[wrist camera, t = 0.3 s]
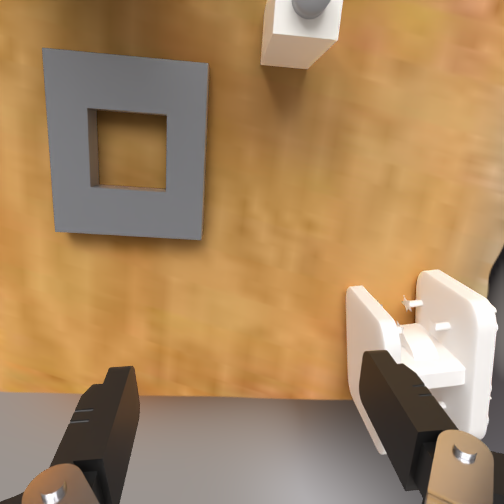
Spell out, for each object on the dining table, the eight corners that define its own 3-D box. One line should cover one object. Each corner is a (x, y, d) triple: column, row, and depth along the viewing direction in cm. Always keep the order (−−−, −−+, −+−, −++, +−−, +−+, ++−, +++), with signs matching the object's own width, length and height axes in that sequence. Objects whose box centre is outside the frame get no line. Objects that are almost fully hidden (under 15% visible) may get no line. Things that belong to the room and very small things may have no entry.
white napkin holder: (341, 272, 42) (382, 320, 31) (434, 262, 42) (508, 305, 31) (344, 387, 46) (381, 465, 35) (429, 377, 46) (492, 451, 35)
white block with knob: (264, 10, 34) (282, -58, 23) (312, 15, 34) (354, -49, 23) (260, 64, 35) (275, 26, 24) (307, 69, 36) (344, 33, 24)
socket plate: (55, 54, 34) (42, 47, 32) (209, 68, 35) (208, 63, 33) (66, 226, 38) (55, 231, 36) (202, 234, 39) (201, 240, 37)
